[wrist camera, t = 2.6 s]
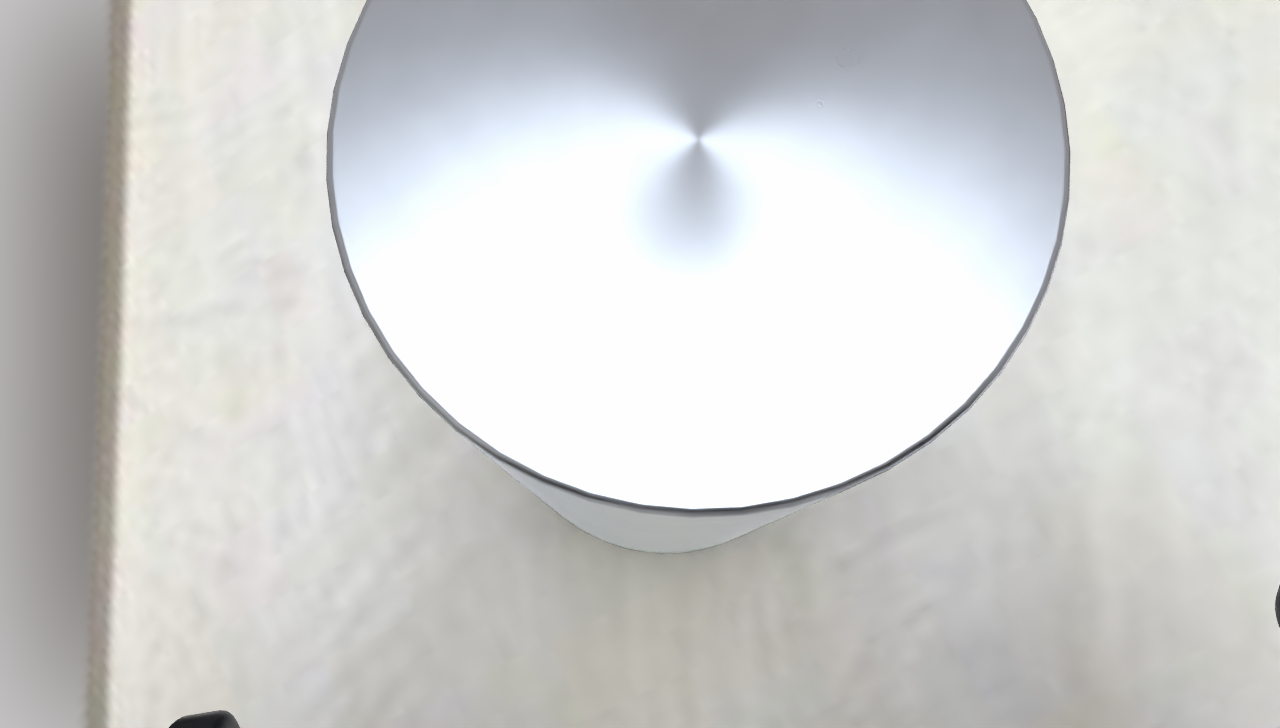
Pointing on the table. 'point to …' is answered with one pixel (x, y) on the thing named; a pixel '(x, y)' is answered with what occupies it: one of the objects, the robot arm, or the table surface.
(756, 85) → the grey upright cylinder
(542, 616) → the table surface
